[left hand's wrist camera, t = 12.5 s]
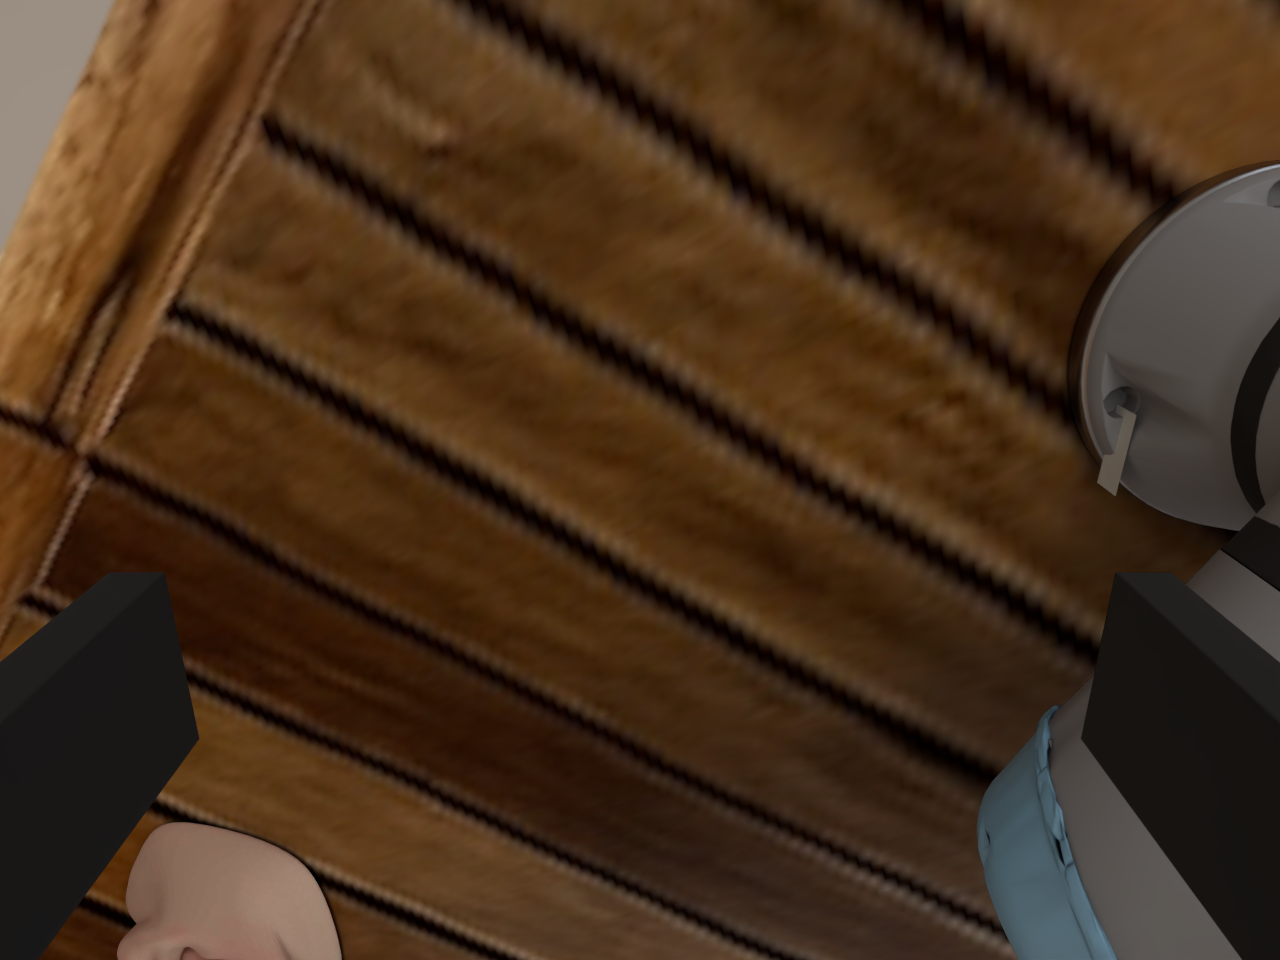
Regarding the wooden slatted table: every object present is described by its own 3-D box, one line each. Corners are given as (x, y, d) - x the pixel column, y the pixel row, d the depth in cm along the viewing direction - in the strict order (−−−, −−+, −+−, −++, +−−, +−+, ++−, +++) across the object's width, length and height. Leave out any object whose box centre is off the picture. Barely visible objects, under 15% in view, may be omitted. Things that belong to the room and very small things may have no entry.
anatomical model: (67, 875, 44) (304, 884, 44) (112, 817, 48) (330, 826, 48) (110, 1066, 49) (324, 1074, 49) (147, 1000, 52) (347, 1007, 53)
